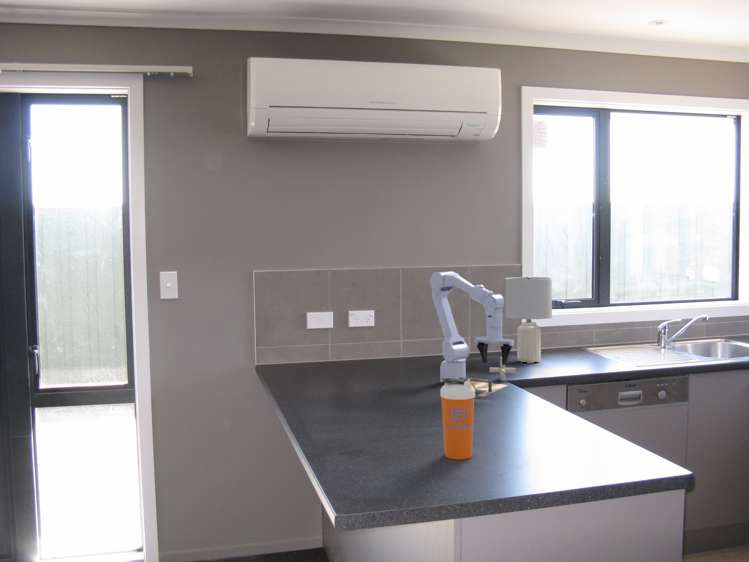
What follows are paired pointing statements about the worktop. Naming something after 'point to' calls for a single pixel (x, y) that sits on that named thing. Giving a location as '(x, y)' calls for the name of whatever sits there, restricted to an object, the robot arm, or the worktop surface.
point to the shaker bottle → (458, 417)
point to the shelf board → (486, 386)
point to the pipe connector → (502, 370)
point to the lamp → (529, 312)
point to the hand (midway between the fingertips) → (494, 363)
